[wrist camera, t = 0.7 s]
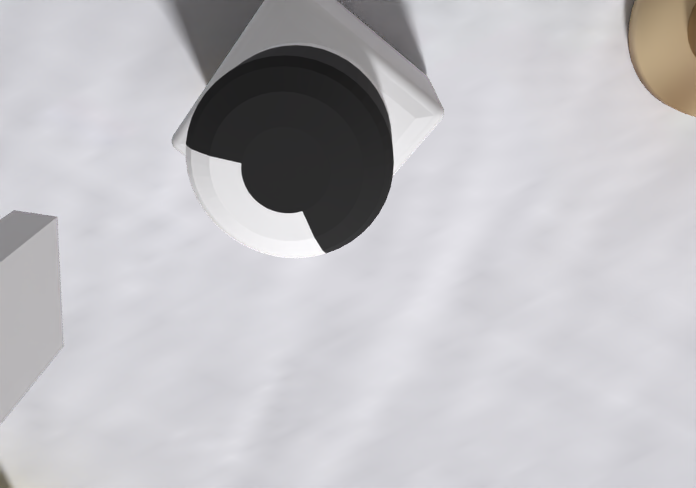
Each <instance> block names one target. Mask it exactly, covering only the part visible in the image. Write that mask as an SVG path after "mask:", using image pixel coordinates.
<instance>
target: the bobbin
mask: <svg viewBox="0 0 696 488" xmlns="http://www.w3.org/2000/svg"><path fill="white" fill-rule="evenodd" d="M628 41H629V51H630V56H631V61H632V63H633V66H634V69H635V72H636V73H637V75H638V77H639V79H640V81H641V82H642V84H643V85H644V86H645V88H646V89H647V90H648V91H649V92H650V93H651V94H652V95H653V96H654V97H655V98H657V99H658V100H660V101H661V102H662V103H664V104H666V105H668V106H670V107H672V108H674V109H676V110H678V111H680V112H683V113H685V114H688V115H691V116H694V117H696V0H635V2H634V5H633V8H632V11H631V16H630V21H629V32H628Z"/></svg>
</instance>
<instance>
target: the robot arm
mask: <svg viewBox="0 0 696 488" xmlns="http://www.w3.org/2000/svg"><path fill="white" fill-rule="evenodd" d="M63 347H64V343H63V323H62V303H61V282H60V262H59V242H58V222H57V217H55V216H49V215H42V214H35V213H28V212H21V211H12V212H11V213H9V214H8V215H6V216H5V217H3V218H2V219H1V220H0V425H1V424H2V423H3V421H4V420H5V419H6V418H7V416H8V415H9V414H10V413H11V411H12V410H13V409H14V408H15V406H16V405H17V404H18V403H19V401H20V400H21V399H22V398H23V396H24V395H25V394H26V393H27V391H28V390H29V389H30V388H31V386H32V385H33V384H34V383H35V381H36V380H37V379H38V378H39V376H40V375H41V374H42V373H43V372H44V370H45V369H46V368H47V367H48V365H49V364H50V363H51V362H52V360H53V359H54V358H55V357H56V355H57V354H58V353H59V352H60V350H61V349H62V348H63Z"/></svg>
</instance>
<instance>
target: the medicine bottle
mask: <svg viewBox="0 0 696 488" xmlns="http://www.w3.org/2000/svg"><path fill="white" fill-rule="evenodd" d="M443 116H444V109H443V107H442V105H441V103H440V101H439V98H438V96H437V94H436V92H435V90H434V88H433V86H432V84H431V82H430V80H429V78H428V77H427V76H426V75H425V74H424V73H423V72H422V71H420V70H419V69H418V68H417V67H416V66H415V65H413V64H412V63H411V62H410V61H409V60H407V59H406V58H405V57H404V56H403V55H401V54H400V53H399V52H398V51H397V50H395V49H394V48H393V47H392V46H391V45H389V44H388V43H387V42H386V41H385V40H383V39H382V38H381V37H380V36H379V35H378V34H376V33H375V32H374V31H373V30H372V29H370V28H369V27H368V26H367V25H366V24H364V23H363V22H362V21H361V20H360V19H358V18H357V17H356V16H355V15H354V14H352V13H351V12H350V11H349V10H348V9H346V8H345V7H344V6H343V5H342V4H341V3H339V2H338V1H337V0H264V2H263V3H262V4H261V6H260V7H259V9H258V10H257V12H256V13H255V15H254V16H253V18H252V19H251V21H250V22H249V24H248V25H247V27H246V28H245V30H244V31H243V33H242V34H241V36H240V37H239V39H238V40H237V42H236V43H235V45H234V46H233V47H232V49H231V50H230V52H229V53H228V55H227V56H226V58H225V59H224V61H223V62H222V64H221V65H220V67H219V68H218V70H217V71H216V73H215V74H214V76H213V77H212V79H211V80H210V82H209V83H208V85H207V86H206V88H205V89H204V90H203V92H202V93H201V95H200V96H199V98H198V99H197V101H196V102H195V104H194V105H193V107H192V108H191V110H190V111H189V113H188V114H187V116H186V117H185V119H184V120H183V122H182V123H181V125H180V126H179V128H178V129H177V131H176V132H175V133H174V135H173V138H172V144H173V147H174V148H175V149H176V150H177V151H179V152H180V153H181V154H183V155H184V156H186V164H187V171H188V176H189V179H190V182H191V186H192V188H193V191H194V193H195V195H196V197H197V199H198V201H199V203H200V204H201V206H202V208H203V209H204V211H205V212H206V213H207V215H208V216H209V217H210V218H211V220H212V221H213V222H214V223H215V224H216V225H217V226H218V227H219V228H220V229H221V230H222V231H223V232H225V233H226V234H227V235H229V236H230V237H231V238H233V239H234V240H235V241H237V242H239V243H241V244H242V245H244V246H246V247H248V248H251V249H253V250H255V251H258V252H261V253H264V254H268V255H271V256H277V257H284V258H305V257H313V256H318V255H322V254H326V253H328V252H331V251H334V250H336V249H339V248H341V247H342V246H344V245H346V244H348V243H350V242H351V241H352V240H354V239H355V238H356V237H358V236H359V235H360V234H362V233H363V232H364V231H365V230H366V229H367V228H368V227H369V226H370V225H371V223H372V222H373V221H374V219H375V218H376V217H377V215H378V214H379V212H380V210H381V209H382V207H383V205H384V203H385V201H386V198H387V196H388V193H389V190H390V187H391V182H392V178H393V176H394V175H395V174H396V172H397V171H398V170H399V169H400V168H401V167H402V165H403V164H404V163H405V162H406V161H407V160H408V158H409V157H410V156H411V155H412V154H413V153H414V151H415V150H416V149H417V148H418V147H419V146H420V144H421V143H422V142H423V141H424V140H425V139H426V137H427V136H428V135H429V134H430V133H431V132H432V130H433V129H434V128H435V127H436V126H437V125H438V123H439V122H440V121H441V120H442V118H443Z"/></svg>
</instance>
